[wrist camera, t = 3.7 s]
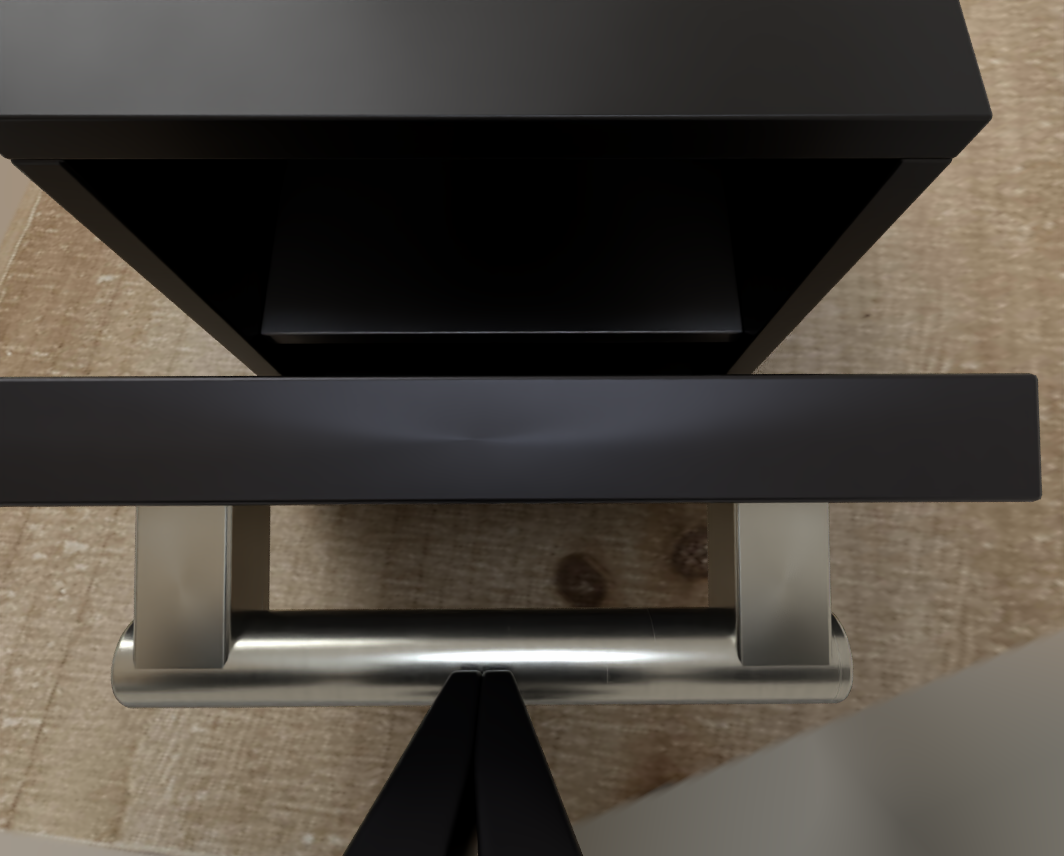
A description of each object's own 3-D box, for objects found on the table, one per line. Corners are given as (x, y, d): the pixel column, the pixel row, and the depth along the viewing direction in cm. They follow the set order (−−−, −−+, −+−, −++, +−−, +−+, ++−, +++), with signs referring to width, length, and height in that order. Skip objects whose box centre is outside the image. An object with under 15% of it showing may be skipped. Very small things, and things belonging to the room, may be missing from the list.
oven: (712, 417, 20) (995, 117, 8) (305, 418, 20) (-45, 118, 8) (677, 77, 25) (826, -456, 12) (343, 77, 25) (156, -461, 12)
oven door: (718, 564, 20) (1055, 768, 7) (299, 566, 20) (-113, 777, 7) (715, 421, 20) (1041, 372, 7) (300, 423, 20) (-99, 376, 7)
